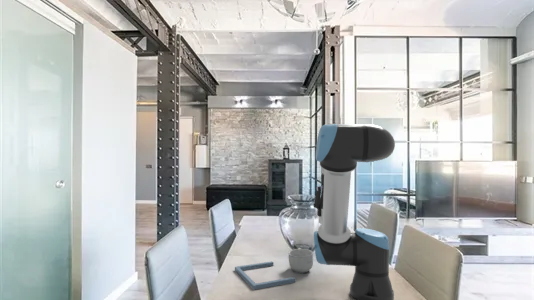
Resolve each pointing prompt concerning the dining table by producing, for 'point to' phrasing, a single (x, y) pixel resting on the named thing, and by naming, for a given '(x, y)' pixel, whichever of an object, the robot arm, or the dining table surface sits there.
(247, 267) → the tray frame
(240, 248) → the dining table surface
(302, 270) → the teacup
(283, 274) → the dining table surface
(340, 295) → the dining table surface
